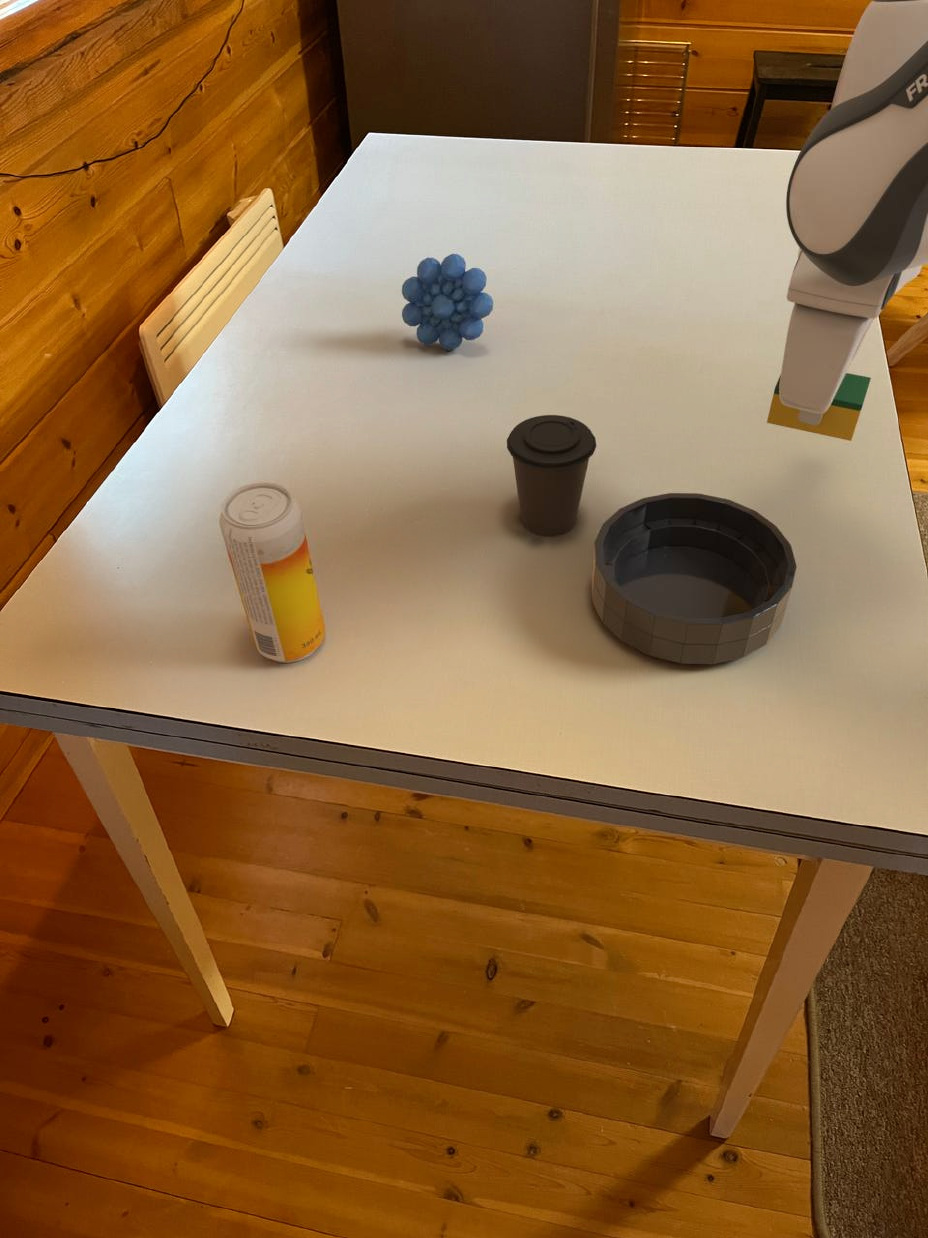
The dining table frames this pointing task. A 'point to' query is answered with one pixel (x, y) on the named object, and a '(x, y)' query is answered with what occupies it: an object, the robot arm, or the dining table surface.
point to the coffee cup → (550, 471)
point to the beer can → (273, 570)
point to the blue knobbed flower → (446, 301)
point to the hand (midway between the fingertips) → (819, 402)
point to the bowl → (691, 577)
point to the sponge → (836, 418)
